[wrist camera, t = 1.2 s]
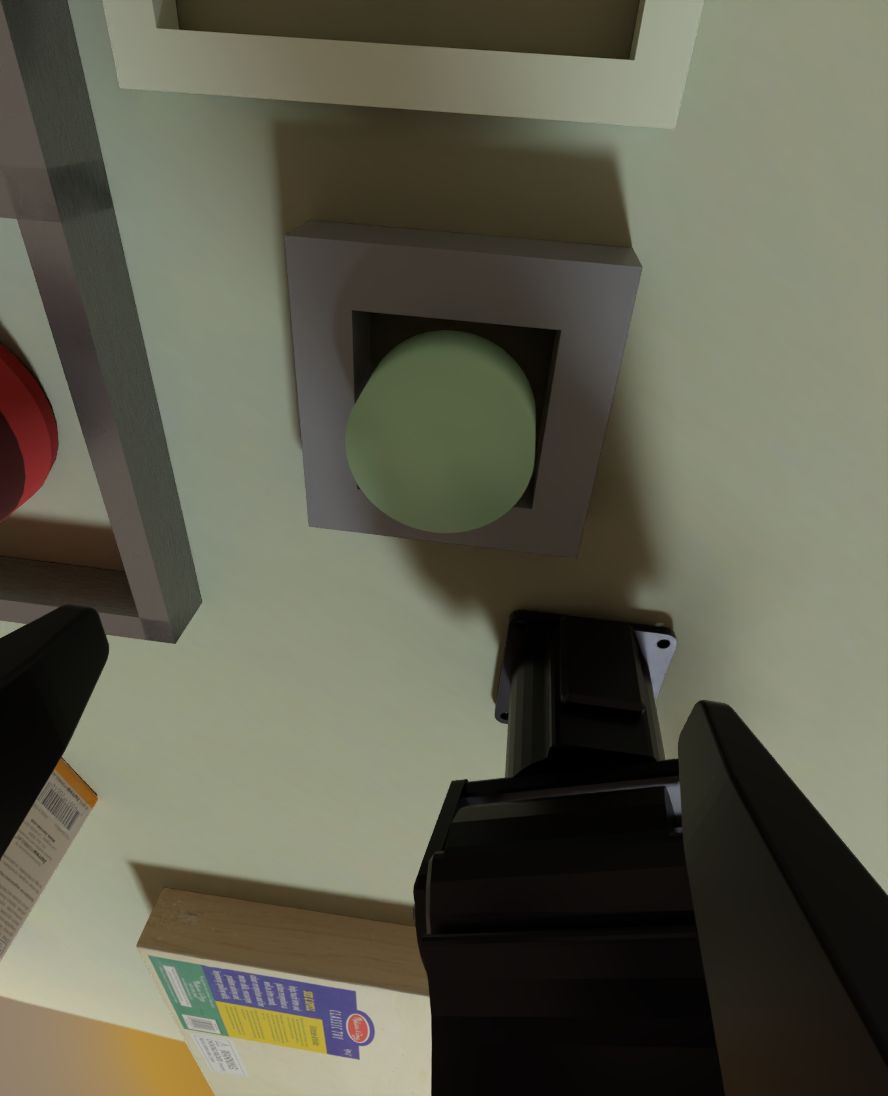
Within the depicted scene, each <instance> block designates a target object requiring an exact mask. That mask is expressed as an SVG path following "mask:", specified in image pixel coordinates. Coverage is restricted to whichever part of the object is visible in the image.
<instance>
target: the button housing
mask: <svg viewBox="0 0 888 1096" xmlns="http://www.w3.org/2000/svg"><path fill="white" fill-rule="evenodd" d="M284 240H285V252H286V264H287V276H288V287H289V299H290V311H291V323H292V335H293V346H294V358H295V370H296V382H297V393H298V405H299V417H300V429H301V441H302V452H303V464H304V476H305V488H306V499H307V511H308V523H309V527H317V528H325V529H333V530H342V531H350V532H359V533H367V534H375V535H384V536H392V537H401V538H409V539H417V540H426V541H434V542H442V543H451V544H459V545H468V546H476V547H484V548H493V549H501V550H510V551H518V552H526V553H535V554H543V555H551V556H560V557H568V558H577V556H578V551H579V547H580V542H581V538H582V533H583V529H584V525H585V520H586V516H587V511H588V507H589V502H590V498H591V494H592V489H593V485H594V480H595V476H596V471H597V467H598V463H599V458H600V454H601V449H602V445H603V440H604V436H605V431H606V427H607V423H608V418H609V414H610V409H611V405H612V400H613V396H614V392H615V387H616V383H617V378H618V374H619V369H620V365H621V360H622V356H623V352H624V347H625V343H626V338H627V334H628V329H629V325H630V321H631V316H632V312H633V307H634V303H635V298H636V294H637V290H638V285H639V281H640V276H641V272H642V265H641V263H640V261H639V259H638V257H637V255H636V254H635V252H634V250H633V248H627V247H615V246H604V245H592V244H580V243H569V242H557V241H546V240H534V239H523V238H511V237H499V236H488V235H476V234H465V233H453V232H441V231H430V230H418V229H407V228H395V227H384V226H372V225H360V224H349V223H337V222H326V221H314V220H309V221H307V222H305V223H304V224H302V225H301V226H299V227H297V228H296V229H294V230H292V231H291V232H289V233H287V234H286V235H284ZM370 312H376V313H386V314H397V315H407V316H418V317H428V318H438V319H449V320H459V321H470V322H480V323H491V324H501V325H512V326H522V327H533V328H543V329H554V330H556V333H555V340H554V346H553V352H552V358H551V365H550V371H549V377H548V384H547V390H546V396H545V403H544V409H543V415H542V421H541V428H540V434H539V440H538V447H537V453H536V459H535V466H534V472H533V474H532V476H531V478H530V481H529V483H528V486H527V488H526V490H525V491H524V493H523V495H522V496H521V498H520V499H519V500H518V501H517V503H516V504H515V505H514V506H513V507H512V508H511V509H510V510H509V511H508V512H507V513H505V514H504V515H503V516H501V517H500V518H498V519H497V520H495V521H493V522H491V523H490V524H487V525H485V526H482V527H480V528H477V529H473V530H470V531H465V532H458V533H434V532H429V531H423V530H419V529H416V528H412V527H410V526H407V525H405V524H402V523H400V522H398V521H396V520H395V519H393V518H391V517H389V516H388V515H387V514H385V513H384V512H382V511H381V510H380V509H379V508H377V507H376V506H375V505H374V504H373V503H372V502H371V501H370V500H369V499H368V498H367V497H366V496H365V494H364V493H363V492H362V490H361V489H360V487H359V486H358V484H357V482H356V481H355V479H354V477H353V475H352V472H351V470H350V467H349V464H348V460H347V456H346V447H345V436H346V428H347V423H348V420H349V417H350V414H351V411H352V409H353V407H354V405H355V403H356V401H357V400H358V398H359V396H360V395H361V393H362V391H363V389H364V388H365V386H366V384H367V382H368V381H369V379H370V377H371V358H370Z"/></svg>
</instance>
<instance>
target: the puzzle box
mask: <svg viewBox="0 0 888 1096" xmlns="http://www.w3.org/2000/svg"><path fill="white" fill-rule="evenodd" d="M136 947H137V949H138V951H139V953H140V955H141V957H142V959H143V961H144V963H145V965H146V967H147V969H148V971H149V972H150V974H151V976H152V978H153V980H154V982H155V984H156V986H157V988H158V990H159V992H160V995H161V997H162V999H163V1000H164V1002H165V1004H166V1006H167V1008H168V1010H169V1012H170V1014H171V1015H172V1017H173V1019H174V1021H175V1023H176V1025H177V1027H178V1029H179V1031H180V1032H181V1034H182V1036H183V1038H184V1040H185V1042H186V1044H187V1046H188V1047H189V1049H190V1051H191V1053H192V1055H193V1056H194V1058H195V1060H196V1062H197V1064H198V1066H199V1068H200V1069H201V1071H202V1073H203V1075H204V1077H205V1078H206V1080H207V1082H208V1084H209V1085H210V1087H211V1089H212V1091H213V1092H214V1094H215V1096H431V1057H432V1036H431V1009H430V998H429V986H428V978H427V973H426V971H425V968H424V965H423V962H422V960H421V956H420V952H419V947H418V943H417V934H416V927H412V926H406V925H399V924H393V923H386V922H380V921H373V920H367V919H360V918H354V917H348V916H341V915H335V914H328V913H322V912H316V911H309V910H303V909H297V908H290V907H284V906H278V905H271V904H265V903H259V902H252V901H246V900H240V899H233V898H227V897H221V896H214V895H208V894H202V893H195V892H189V891H182V890H176V889H169V888H163V890H162V892H161V894H160V896H159V898H158V900H157V902H156V904H155V906H154V908H153V910H152V912H151V914H150V917H149V919H148V921H147V923H146V925H145V927H144V930H143V932H142V934H141V936H140V938H139V941H138V943H137V946H136Z"/></svg>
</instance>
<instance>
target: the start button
mask: <svg viewBox="0 0 888 1096" xmlns="http://www.w3.org/2000/svg"><path fill="white" fill-rule="evenodd" d="M535 431H536V408H535V400H534V396H533V392H532V389H531V386H530V383H529V381H528V379H527V377H526V376H525V374H524V372H523V371H522V369H521V368H520V366H519V365H518V364H517V362H516V361H515V360H514V359H513V358H512V357H511V356H510V355H509V354H508V353H507V352H505V351H504V350H503V349H502V348H501V347H499V346H497V345H496V344H494V343H493V342H491V341H489V340H487V339H485V338H483V337H480V336H478V335H475V334H471V333H468V332H463V331H456V330H437V331H430V332H426V333H421V334H418V335H416V336H413V337H411V338H408V339H407V340H405V341H403V342H401V343H400V344H398V345H397V346H396V347H394V348H393V349H392V350H390V351H389V352H388V353H387V354H386V355H385V357H384V358H383V359H382V360H381V361H380V363H379V364H378V366H377V367H376V369H375V370H374V372H373V374H372V376H371V377H370V379H369V381H368V382H367V384H366V386H365V388H364V389H363V391H362V393H361V395H360V396H359V398H358V400H357V401H356V403H355V405H354V407H353V409H352V411H351V414H350V417H349V420H348V423H347V428H346V436H345V447H346V456H347V460H348V464H349V467H350V470H351V472H352V475H353V477H354V479H355V481H356V482H357V484H358V486H359V487H360V489H361V490H362V492H363V493H364V494H365V496H366V497H367V498H368V499H369V500H370V501H371V502H372V503H373V504H374V505H375V506H376V507H377V508H379V509H380V510H381V511H382V512H384V513H385V514H387V515H388V516H389V517H391V518H393V519H395V520H396V521H398V522H400V523H402V524H405V525H407V526H410V527H412V528H416V529H419V530H423V531H429V532H434V533H458V532H465V531H470V530H473V529H477V528H480V527H482V526H485V525H487V524H490V523H491V522H493V521H495V520H497V519H498V518H500V517H501V516H503V515H504V514H505V513H507V512H508V511H509V510H510V509H511V508H512V507H513V506H514V505H515V504H516V503H517V501H518V500H519V499H520V498H521V496H522V495H523V493H524V491H525V490H526V488H527V486H528V483H529V481H530V478H531V476H532V472H533V467H534V459H535Z"/></svg>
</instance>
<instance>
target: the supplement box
mask: <svg viewBox="0 0 888 1096" xmlns="http://www.w3.org/2000/svg"><path fill="white" fill-rule="evenodd" d="M97 801H98V798H97V796H96V794H95V793H94V792H93V791H92V790H91V789H90V788H89V787H88V786H87V785H86V784H85V782H83V781H82V779H81V778H80V777H79V776H78V775H77V774H76V773H75V772H74V771H73V770H72V769H71V768H70V767H69V765H68V764H66V762H65V761H64V760H63V759H60V760H59V762H58V764H57V766H56V767H55V769H54V771H53V772H52V774H51V776H50V777H49V779H48V781H47V782H46V784H45V786H44V787H43V789H42V791H41V793H40V794H39V796H38V798H37V799H36V801H35V803H34V804H33V806H32V808H31V809H30V811H29V813H28V814H27V816H26V818H25V819H24V821H23V823H22V825H21V826H20V828H19V830H18V831H17V833H16V835H15V836H14V838H13V840H12V841H11V843H10V845H9V846H8V848H7V850H6V851H5V853H4V855H3V857H2V858H1V860H0V961H1V960H2V958H3V956H4V955H5V953H6V951H7V950H8V948H9V946H10V945H11V943H12V942H13V940H14V938H15V937H16V935H17V933H18V932H19V930H20V928H21V927H22V925H23V923H24V921H25V920H26V918H27V917H28V915H29V914H30V912H31V910H32V908H33V907H34V905H35V903H36V902H37V900H38V898H39V897H40V895H41V893H42V892H43V890H44V889H45V887H46V885H47V884H48V882H49V880H50V879H51V877H52V875H53V874H54V872H55V870H56V869H57V867H58V865H59V863H60V862H61V860H62V859H63V857H64V855H65V854H66V852H67V850H68V848H69V847H70V845H71V844H72V842H73V841H74V839H75V837H76V836H77V834H78V832H79V831H80V829H81V827H82V826H83V824H84V822H85V821H86V819H87V817H88V816H89V814H90V812H91V810H92V809H93V807H94V806H95V804H96V802H97Z"/></svg>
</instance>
